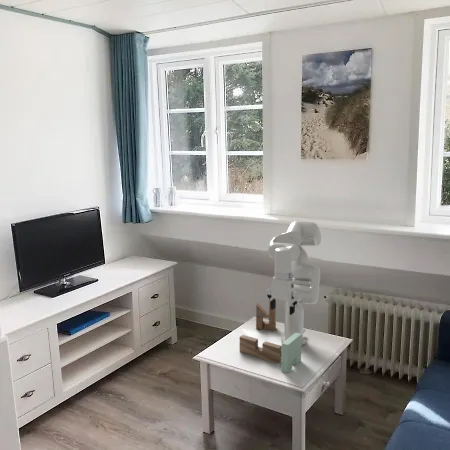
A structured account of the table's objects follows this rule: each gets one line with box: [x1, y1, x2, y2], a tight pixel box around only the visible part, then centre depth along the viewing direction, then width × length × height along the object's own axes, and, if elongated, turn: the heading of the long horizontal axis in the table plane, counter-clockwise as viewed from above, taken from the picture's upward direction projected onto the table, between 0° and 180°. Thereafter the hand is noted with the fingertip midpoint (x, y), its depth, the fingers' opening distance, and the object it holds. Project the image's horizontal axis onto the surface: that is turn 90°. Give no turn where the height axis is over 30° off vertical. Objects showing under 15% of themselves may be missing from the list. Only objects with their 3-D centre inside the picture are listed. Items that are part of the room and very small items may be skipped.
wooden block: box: [255, 299, 277, 331], centre depth 262 cm, size 4×11×18 cm, turn 80°
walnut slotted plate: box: [239, 334, 282, 365], centre depth 232 cm, size 3×22×8 cm, turn 55°
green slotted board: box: [280, 333, 302, 374], centre depth 221 cm, size 14×3×14 cm, turn 145°
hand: (282, 311), depth 215 cm, fingers open, 9 cm apart
